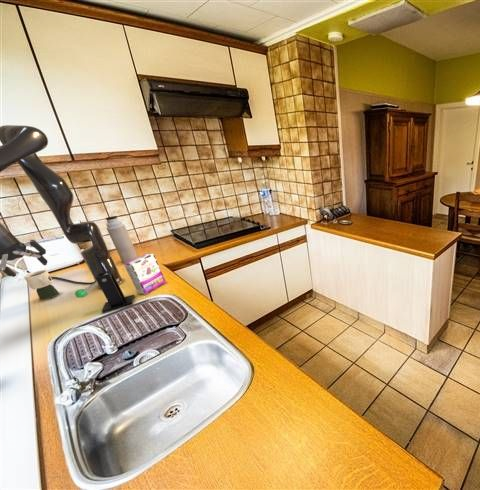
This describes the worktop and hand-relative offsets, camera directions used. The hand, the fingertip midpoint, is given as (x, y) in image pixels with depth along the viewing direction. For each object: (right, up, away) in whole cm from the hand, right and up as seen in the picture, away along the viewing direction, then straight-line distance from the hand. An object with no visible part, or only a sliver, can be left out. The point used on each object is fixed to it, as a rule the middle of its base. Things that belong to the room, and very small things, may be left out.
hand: (30, 269), depth 102 cm
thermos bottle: (-15, 0, +61) cm, 63 cm away
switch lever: (+16, -9, +10) cm, 21 cm away
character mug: (-23, -16, +25) cm, 38 cm away
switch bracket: (+19, -17, +16) cm, 30 cm away
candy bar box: (+24, -12, +28) cm, 39 cm away
